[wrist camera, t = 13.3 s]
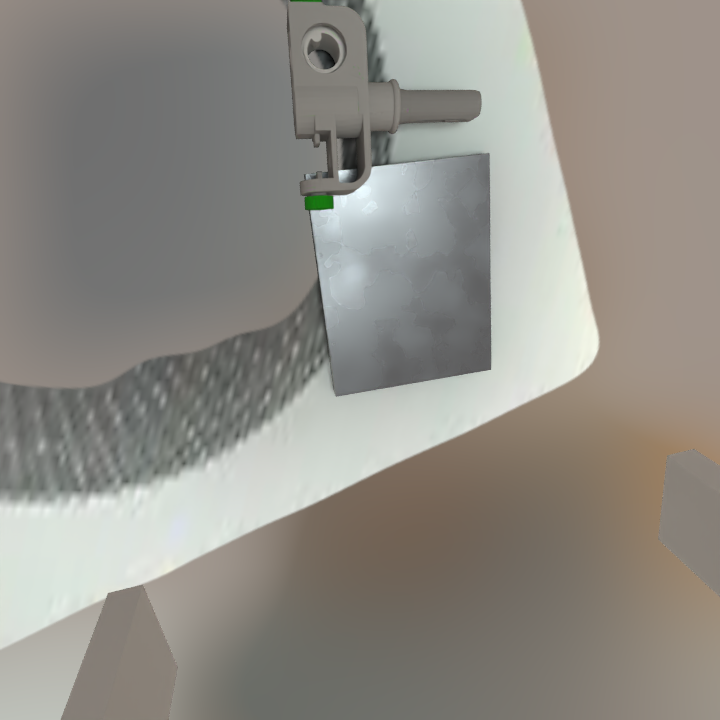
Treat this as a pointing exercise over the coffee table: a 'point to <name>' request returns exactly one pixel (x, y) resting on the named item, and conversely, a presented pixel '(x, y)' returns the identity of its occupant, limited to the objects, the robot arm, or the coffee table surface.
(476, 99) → the mechanical component
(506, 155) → the coffee table surface
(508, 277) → the coffee table surface
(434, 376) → the plate
